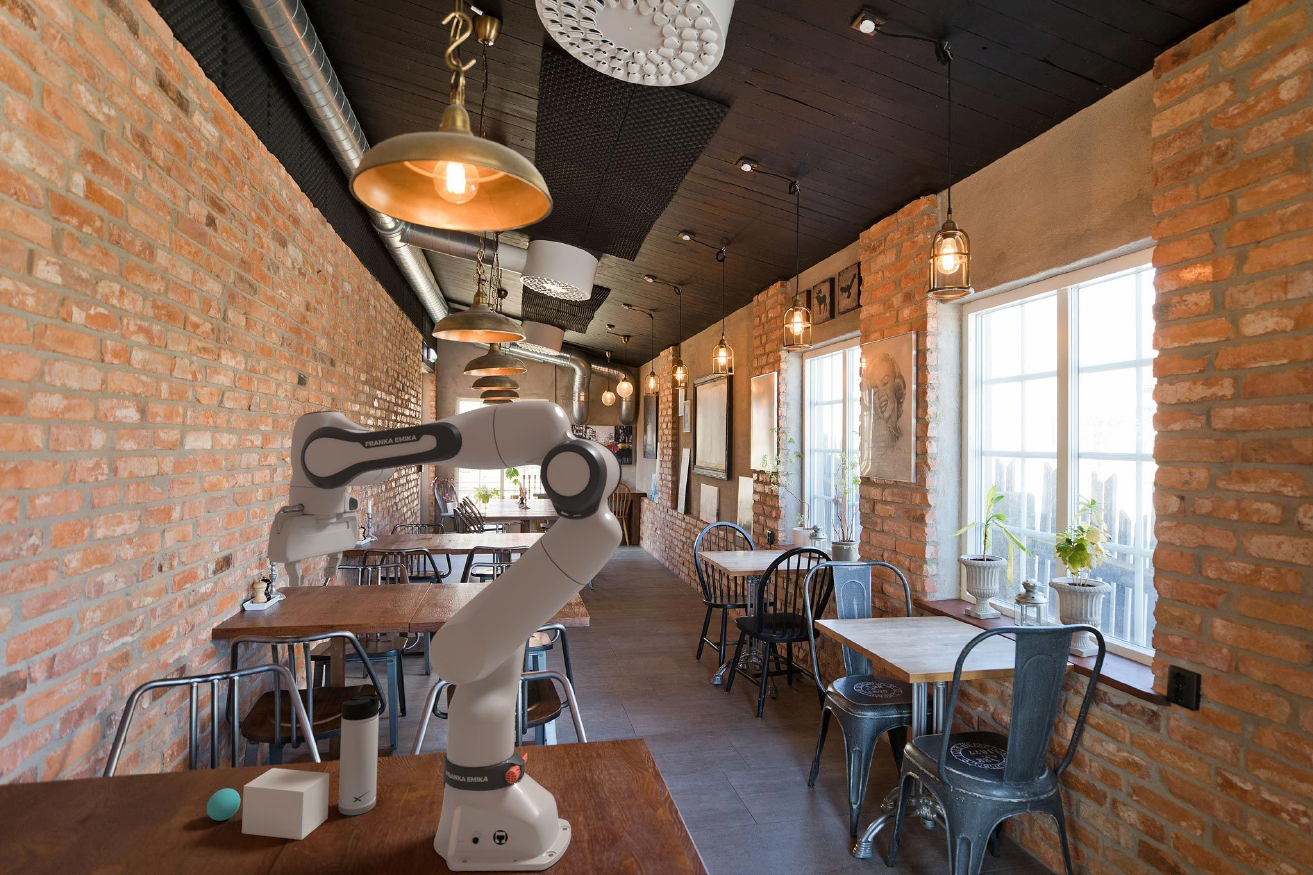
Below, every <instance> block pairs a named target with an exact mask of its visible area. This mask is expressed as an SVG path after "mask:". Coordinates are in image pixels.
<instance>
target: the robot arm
mask: <svg viewBox="0 0 1313 875" xmlns="http://www.w3.org/2000/svg"><path fill="white" fill-rule="evenodd" d="M617 455H618V454H616V453H615V452H614V451H613V450H612V449H611V448H610V447H608V446H607V445H605V444H604V443H602V442H601V443H600V442H598V441H595V440H592V439H591V438H587V437H585V436H582V435H574V434H573V431H572V427H571V422H570V419H569V417H568V414H567V413H566V411H565V410H564V408H562V407H561V405H559V404H558V403H556V402H553V401H543V400H542V401H541V400H526V401H523V400H522V401H513V402H510V401H509V402H503V403H497V404H491V405H487V406H483V407H479V408H476V409H471V410H467V411H464V412H461V413H458V414H456V415H451V416H448V417H445V418H441V419H438V420H434V421H429V422H426V423H423V424H419V425H418V424H416V425H411V426H404V427H396V428H390V429H382V430H376V431H375V430H372V429H369V428H367V427H364V426H362V425H360V424H358V423H355V422H354V421H352V420H350V419H349V418H348V417H346V416H345V414H344V413H342V412H340V411H338V410H318V411H316V410H315V411H311V412H307V413H304V414H302V415H301V416H299V417H298V418H297V419H296V422H295V424H294V427H293V431H292V437H291V446H290V464H291V468H292V475H291V478H290V482H289V490H288V494H289V496H288V505H284V506H282V507H280V509H279V510H277V512H276V513H275V515H274V517H273V518H274V519H273V521H272V522H271V525H270V530H269V537H268V543H267V551H266V552H267V558H268V559H269V562H271V563H276V564H277V563H278V564H281V563H283V564H284V565H283V566H284V569H285V572H286V574H287V576H288V586H289V587H290V588H298V587H299V588H300V587H302V586H304V584H305V582H304V580H305V574H304V575H302V574H301V571H300V567H302V561H303V560H308V559H311V558H316V557H321V556H326V555H327V558H328V561H327V564H326V567H323V577H324V578H326V579H328V578H329V579H333V578H336V577H338V573H339V572H338V568H339V566H340V564H341V562H342V559H343V553H344V552H345V551H351V550H353V549H355V547H356V545H357V542H358V536H359V535H358V534H359V514H358V511H359V510H360V508H361V500H360V498H357V497H355V496H354V495H352V494H350V493H348V492H346V488H347V487H361V486H372V485H379V484H381V483H384V482H387V481H388V480H390V479H391V478H393V476H394V474H395V473H396V471H397V469H398V468H403V467H409V466H410V467H411V466H420V465H421V466H424V465H425V466H442V467H450V468H459V469H465V470H466V469H467V470H480V471H482V470H483V471H486V470H488V471H489V470H491V471H492V470H505V469H512V468H513V469H514V468H517V467H524V466H538V467H540V472H539V473H540V474H539V475H540V481H541V485H542V488H543V489H544V492H545V494H546V495H547V497H548V498H549V500H550V502H551V504H552V506H553V508H554V510H555V513H556V514H557V515H558V516H559V517H558V519H557V520H556V522H554V524H553V525H551V527H550V528H549V529H547V530H546V532H544V533H543V534H542V535H541V536H540V537H539V538H538V539H537V540H536V541H535V542H534V543H533V544H532V545H531V546H530V547H529V548H528V549H527V550H526V551H525V552H524V553H522V555H520V557H518V558H517V559H516V560H515V561H514V562H513V563H512V564H511V565H510V566H509V567H508V568H507V569H506V570H505V571H503V572H502V573H501V574H500V575H499V576H498V577H496V578H495V579H493V580H492V581H491V582H490V583H489V584H488V585H487V586H485V587H484V588H483V589H482V590H481V591H479V592H478V593H477V594H476V595H475V596H474V597H473V598H471V599H470V600H469V601H467V603H465V605H463V607H462V608H460V609H459V610H458V611H456V613H454V614H453V615H452V616H451V617H450V618H449V619H448V620H446V622H444V624H443V625H442V626H441V627H440V628H439V629H438V630H437V631H436V633H435V634H434V636H433V637H432V639H431V642H430V644H429V648H428V659H429V663H430V666H431V669H432V670H433V672H434V673H435V674H436V676H437V677H438V678H439V679H441V680H442V681H444V682H446V683H447V684H451V685H454V686H455V689H454V693H453V694H452V698H451V699H450V702H449V706H448V709H447V729H446V731H447V732H446V733H447V734H446V753H445V754H444V757H443V766H442V787H443V789H444V791H443V792H444V793H443V799H442V800H443V801H442V807H441V812H440V818H439V823H438V825H437V826H438V827H437V831H436V834H435V836H434V840H433V848H434V850H435V851H436V853H437V854H438V855H439V856H440V857H442V858H443V859H444V860H445V861H446V865H447V867H448V869H449V870H450V871H454V872H460V871H461V872H463V871H464V872H465V871H468V872H469V871H470V872H471V871H472V872H474V871H475V872H476V871H479V872H480V871H481V872H482V871H483V872H486V871H491V872H493V871H497V872H498V871H543V870H547V869H549V868H550V867H552V866H553V865H554V864H556V863H557V862H558V861H559V860H560V859H561V858H562V857H563V855H564V854H565V852H566V851H567V849H568V847H569V845H570V842H571V838H572V828H571V824H570V822H569V821H568V820H566V819H563V818H561V817H559V814H558V806H557V803H556V799H555V796H554V795H553V794H552V793H551V792H550V791H548V789H546V788H544V787H543V786H542V785H540V784H539V783H538V782H537V781H536V780H535V779H533V778H532V777H531V776H529V775H528V773H526V772H525V770H526V769H525V768H526V763H527V761H528V752H526V753H524V755H523V756H521V754H520V753H519V752H518V751H517V749H516V748H515V732H516V709H517V707H516V706H517V698H518V691H519V686H520V681H521V677H522V671H523V666H524V659H525V652H526V646H527V642H528V640H529V639H530V638H531V637H532V636H533V635H534V634H536V633H537V632H538V631H539V630H540V629H541V628H542V627H543V626H544V625H545V624H547V623H548V621H550V620H551V619H553V617H554V616H556V614H557V613H558V612H560V611H561V609H562V608H564V607H565V606H566V605H567V604H568V603H569V602H570V601H571V600H572V599H573V598H574V597H575V596H576V595H578V593H580V592H581V591H582V590H583V588H585V587H586V586H587V585H588V584H589V582H591V581H592V580H593V579H594V577H596V576H597V575H598V574H599V572H600V571H601V570H602V569H603V568H604V566H605V565H606V564H607V563H608V562H609V561H610V559H611V558H612V557H613V555H614V554H615V552H616V551H617V550H618V548H619V547H620V544H621V542H622V540H623V531H622V527H621V525H620V524H621V523H620V521H619V520H618V519H617V516H616V515H615V514H614V513H613V512H612V511H611V509H610V507H609V504H608V501H609V500H608V499H610V497H612V496H613V495H614V494H615V493H616V491H617V490H618V488H619V486H620V484H621V481H622V477H623V468H622V463H621V461H620V459H619V457H618V456H617Z"/></svg>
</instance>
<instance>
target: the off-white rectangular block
mask: <svg viewBox="0 0 1313 875" xmlns="http://www.w3.org/2000/svg"><path fill="white" fill-rule="evenodd" d="M329 787H330V773H329V772H321V771H319V772H318V771H309V770H308V771H307V770H299V769H297V770H296V769H295V770H294V769H287V768H275V767H272V768H270V769H269V770H267V771H266V772H264V773H263V774H261V775H259V776H258V777H255V779H253V780H251V781H250V782H248V783H246V784H245V785H243V793H242V794H243V796H242V797H243V798H242V799H243V800H242V822H241V823H242V825H241V833H242V834H245V835H246V834H247V835H255V836H265V837H273V838H281V839H282V838H283V839H289V840H290V839H291V840H292V839H293V840H301V841H302V840H303V839H305V838H306V837H307V836H308V835H309V834H310V833H311V832H313V831H314V830H315V829H317V828H318V827H319V826H320V825H321V824H323V823H325V821H326V820H328V816H329V791H330V790H329Z"/></svg>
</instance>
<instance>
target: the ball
mask: <svg viewBox="0 0 1313 875" xmlns="http://www.w3.org/2000/svg"><path fill="white" fill-rule="evenodd" d="M240 806H241V797H240V794H239V792H238V791H237V790H235V789H234V788H229V787H228V788H227V787H226V788H222V789H220V790H217V791H216V792H214V793H213V794H212V795H211V797H209V800H208V801H207V805H206V813H207V815H208V817H210V818H211V820H214V821H217V822H218V821H219V822H221V821H226V820H228V819H230V818H232V817H233V816H234V815H235V814H236V813H237V811H238V810H239V809H240Z"/></svg>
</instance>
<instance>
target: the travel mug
mask: <svg viewBox="0 0 1313 875" xmlns="http://www.w3.org/2000/svg"><path fill="white" fill-rule="evenodd" d="M380 701H381V695H379V694H377V693H366V694H361V695H356V696H352V697H350V698H349V699H348V700H345V701H343V702H342V703H341V704H342V705H341V706H342V707H341V711H342V712H341V721H340V722H341V724H340V747H339V748H340V752H339V753H340V754H339V756H340V757H339V780H338V782H339V783H338V811H339V813H340V814H342V815H345V816H358V815H359V816H360V815H363V814H365V813H368V812H370V811H371V810H373V809H374V808H375V807H376V805H377V803H376V802H377V785H378V784H377V779H378V778H377V777H378V755H379V754H378V748H379V719H380V718H379V716H380V713H379V710H380V709H379V706H380Z"/></svg>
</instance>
